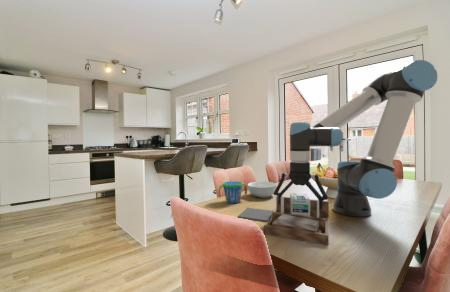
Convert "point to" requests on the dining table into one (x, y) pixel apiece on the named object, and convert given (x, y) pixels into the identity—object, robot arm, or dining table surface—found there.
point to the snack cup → (232, 191)
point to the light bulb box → (299, 204)
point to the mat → (256, 214)
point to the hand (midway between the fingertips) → (299, 214)
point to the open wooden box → (301, 234)
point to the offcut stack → (297, 223)
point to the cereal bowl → (262, 188)
